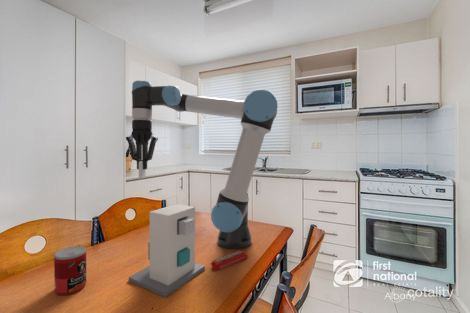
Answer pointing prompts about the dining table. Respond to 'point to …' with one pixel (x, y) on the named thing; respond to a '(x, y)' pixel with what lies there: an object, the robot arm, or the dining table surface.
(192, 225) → the steel plunger
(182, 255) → the teal plunger
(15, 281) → the dining table surface
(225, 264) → the candy bar
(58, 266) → the canned food
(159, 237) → the switch block
